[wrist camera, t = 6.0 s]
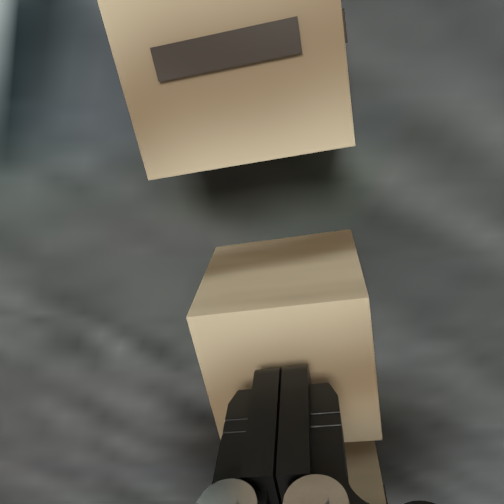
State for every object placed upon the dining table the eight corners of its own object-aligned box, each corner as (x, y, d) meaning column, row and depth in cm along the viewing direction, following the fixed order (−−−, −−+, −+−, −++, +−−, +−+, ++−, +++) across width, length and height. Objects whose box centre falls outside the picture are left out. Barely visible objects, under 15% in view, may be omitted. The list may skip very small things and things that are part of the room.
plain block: (216, 246, 17) (186, 317, 13) (350, 228, 17) (368, 297, 12) (241, 354, 19) (223, 449, 15) (362, 343, 18) (382, 440, 14)
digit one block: (152, -25, 14) (78, -59, 9) (323, -66, 13) (335, -127, 8) (192, 141, 16) (146, 181, 11) (342, 114, 15) (361, 146, 10)
